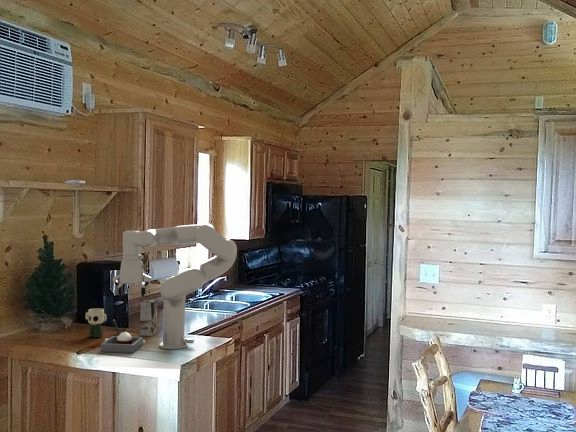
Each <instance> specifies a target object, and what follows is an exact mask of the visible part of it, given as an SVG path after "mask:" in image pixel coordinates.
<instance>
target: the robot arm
mask: <svg viewBox="0 0 576 432" xmlns="http://www.w3.org/2000/svg"><path fill="white" fill-rule="evenodd" d="M195 244H200V245H202V246H203V247H204V248H206V250H207V251H209V252H211V253H212V254H213V255H214V256H213V257H211V258H209V259H207V260H206V261H204V262H201V263H199V264H197V265H195V266H194V265H193V266H191V267H189V268H188V269H187V270H184V271H182V272H181V273H179V274H176V275H172V276H169V277H168V278H167V279H165V280H164V281H163V282H162V284H161V286H160V288H159V290H160V295H161V297H162V298H163V314H162V315H163V317H162V319H163V323H162V341H161V342H160V343H159V344H158V346H159V348H161V349H165V350H180V349H185V348H187V347H188V344H194V342H195V339H193V338H192V337H191V338H188V337H187V334H185V323H186V298H187V297H186V296H187V295H189V294H191V293H194V292H195V291H197V290H198V289H200V288H201V287H203V286H204V285H205V284H206V283H208V282H210V281H212V280H214V279H215V278H217V277H219V276H221V275H223V274H224V273H226V272H227V271H229V270H230V268H231V267H233V265H234V263H235V262H236V260H237V254H238V248H237V247H238V246H237V245H236V242H235V241H234V240H232V239H229V238H225V237H224V236H222V234H220V233H218V232H217V231H216V228H215V227H214V226H213V224H210V223H199V224H188V225H187V224H186V225H177V226H173V227H164V228H163V227H162V228H153V229H151V228H150V229H147V230H142V231H139V230H125V231H123V233H122V261H121V263H120V270H119V271H120V272H119V274H117V275H116V276H113V277H112V278H111V280H112V281H113V283H114V285H115V286H116V287H117V289H118V295H119V297H120V298H122V297H123V296H124V288H123V285H127V284H128V285H133V284H135V285H136V284H137V285H138V284H139V285H140V286H141V289H140V292H141V293H140V296H141V297H142V298H143V297H145V295H146V291H147V290H146V287H148V285H149V284H150V282H151V281H152V277H151V276H149V275H147V274H145V271H144V270H145V269H144V263H143V260H142V259H144V258H145V257H144V255H142V254H141V248H151V247H154V246H159V245H161V246H162V245H178V246H183V245H195ZM118 279H119V281H118ZM145 279H146V280H147V281H146V282H145Z"/></svg>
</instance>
